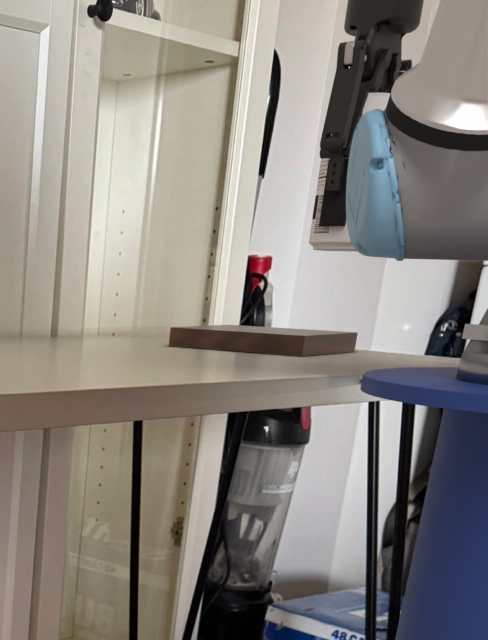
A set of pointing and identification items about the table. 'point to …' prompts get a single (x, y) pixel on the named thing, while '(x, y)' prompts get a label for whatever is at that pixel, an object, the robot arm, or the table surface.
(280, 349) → the walnut board
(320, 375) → the table surface
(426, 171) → the robot arm
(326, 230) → the supplement can
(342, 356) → the table surface
